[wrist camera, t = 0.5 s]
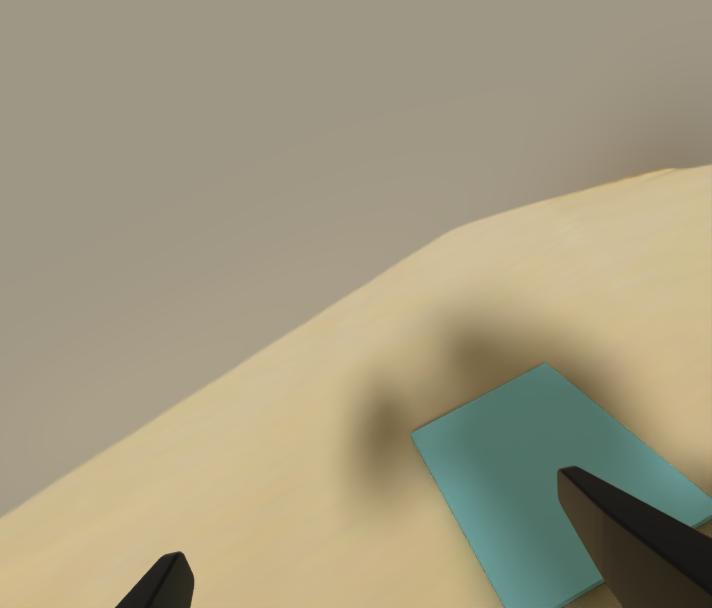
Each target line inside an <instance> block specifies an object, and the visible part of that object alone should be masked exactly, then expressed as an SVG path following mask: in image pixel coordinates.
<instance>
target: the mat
mask: <svg viewBox="0 0 712 608" xmlns="http://www.w3.org/2000/svg"><path fill="white" fill-rule="evenodd" d="M410 435H411V437H412V440H413V442H414V443H415V445H416V447H417V449H418V451H419V453H420V454H421V456H422V458H423V460H424V462H425V463H426V465H427V467H428V469H429V471H430V473H431V474H432V476H433V478H434V480H435V482H436V484H437V485H438V487H439V489H440V491H441V493H442V495H443V496H444V498H445V500H446V502H447V504H448V506H449V507H450V509H451V511H452V513H453V515H454V517H455V518H456V520H457V522H458V524H459V526H460V528H461V529H462V531H463V533H464V535H465V537H466V538H467V540H468V542H469V544H470V546H471V548H472V549H473V551H474V553H475V555H476V557H477V559H478V560H479V562H480V564H481V566H482V568H483V570H484V571H485V573H486V575H487V577H488V579H489V581H490V582H491V584H492V586H493V588H494V590H495V592H496V593H497V595H498V597H499V599H500V601H501V602H502V604H503V606H504V608H561V607H563V606H565V605H567V604H568V603H570V602H572V601H573V600H575V599H577V598H578V597H580V596H582V595H584V594H585V593H587V592H589V591H590V590H592V589H594V588H595V587H597V586H599V585H601V584H602V583H604V582H605V581H604V579H603V578H602V576H601V574H600V573H599V571H598V569H597V568H596V566H595V564H594V563H593V561H592V559H591V557H590V556H589V554H588V552H587V550H586V549H585V547H584V545H583V543H582V542H581V540H580V538H579V536H578V535H577V533H576V531H575V529H574V528H573V526H572V524H571V522H570V521H569V519H568V517H567V515H566V514H565V512H564V510H563V508H562V507H561V505H560V502H559V499H558V494H557V471H558V469H560V468H563V467H568V466H573V465H574V466H578V467H580V468H582V469H584V470H586V471H587V472H589V473H591V474H593V475H595V476H597V477H599V478H601V479H602V480H604V481H606V482H608V483H610V484H612V485H614V486H616V487H617V488H619V489H621V490H623V491H625V492H627V493H629V494H631V495H632V496H634V497H636V498H638V499H640V500H642V501H644V502H645V503H647V504H649V505H651V506H653V507H655V508H657V509H659V510H660V511H662V512H664V513H666V514H668V515H670V516H672V517H674V518H675V519H677V520H679V521H681V522H683V523H685V524H687V525H689V526H690V527H692V528H694V529H696V528H698V527H699V526H701V525H703V524H704V523H706V522H708V521H710V520H711V519H712V498H710V497H709V496H708V495H707V494H706V493H704V492H703V491H702V490H701V489H700V488H698V487H697V486H696V485H695V484H693V483H692V482H691V481H690V480H689V479H687V478H686V477H685V476H684V475H682V474H681V473H680V472H679V471H678V470H676V469H675V468H674V467H673V466H672V465H670V464H669V463H668V462H667V461H665V460H664V459H663V458H662V457H661V456H659V455H658V454H657V453H656V452H654V451H653V450H652V449H651V448H650V447H648V446H647V445H646V444H645V443H644V442H642V441H641V440H640V439H639V438H637V437H636V436H635V435H634V434H633V433H631V432H630V431H629V430H628V429H626V428H625V427H624V426H623V425H622V424H620V423H619V422H618V421H617V420H616V419H614V418H613V417H612V416H611V415H609V414H608V413H607V412H606V411H605V410H603V409H602V408H601V407H600V406H599V405H597V404H596V403H595V402H594V401H592V400H591V399H590V398H589V397H588V396H586V395H585V394H584V393H583V392H581V391H580V390H579V389H578V388H577V387H575V386H574V385H573V384H572V383H571V382H569V381H568V380H567V379H566V378H564V377H563V376H562V375H561V374H560V373H558V372H557V371H556V370H555V369H553V368H552V367H551V366H550V365H549V364H547V363H546V362H545V363H544V364H542V365H540V366H538V367H536V368H534V369H532V370H530V371H528V372H526V373H525V374H523V375H521V376H519V377H517V378H515V379H513V380H511V381H509V382H507V383H506V384H504V385H502V386H500V387H498V388H496V389H494V390H492V391H490V392H488V393H487V394H485V395H483V396H481V397H479V398H477V399H475V400H473V401H471V402H469V403H467V404H466V405H464V406H462V407H460V408H458V409H456V410H454V411H452V412H450V413H448V414H447V415H445V416H443V417H441V418H439V419H437V420H435V421H433V422H431V423H429V424H428V425H426V426H424V427H422V428H420V429H418V430H416V431H414V432H412V433H410Z"/></svg>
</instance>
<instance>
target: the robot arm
mask: <svg viewBox="0 0 712 608" xmlns="http://www.w3.org/2000/svg"><path fill="white" fill-rule="evenodd" d="M557 494H558V499H559V502H560V505H561V507H562V508H563V510H564V512H565V514H566V515H567V517H568V519H569V521H570V522H571V524H572V526H573V528H574V529H575V531H576V533H577V535H578V536H579V538H580V540H581V542H582V543H583V545H584V547H585V549H586V550H587V552H588V554H589V556H590V557H591V559H592V561H593V563H594V564H595V566H596V568H597V569H598V571H599V573H600V574H601V576H602V578H603V579H604V581H605V582H606V584H607V585H608V587H609V588H610V590H611V591H612V593H613V594H614V595H615V597H616V598H617V600H618V601H619V603H620V604H621V606H622V607H623V608H712V538H711V537H709V536H707V535H705V534H704V533H702V532H700V531H698V530H696V529H694V528H692V527H690V526H689V525H687V524H685V523H683V522H681V521H679V520H677V519H675V518H674V517H672V516H670V515H668V514H666V513H664V512H662V511H660V510H659V509H657V508H655V507H653V506H651V505H649V504H647V503H645V502H644V501H642V500H640V499H638V498H636V497H634V496H632V495H631V494H629V493H627V492H625V491H623V490H621V489H619V488H617V487H616V486H614V485H612V484H610V483H608V482H606V481H604V480H602V479H601V478H599V477H597V476H595V475H593V474H591V473H589V472H587V471H586V470H584V469H582V468H580V467H578V466H574V465H573V466H568V467H563V468H560V469H558V471H557ZM193 590H194V575H193V573H192V571H191V568H190V566H189V564H188V562H187V560H186V557H185V555H184V554H183V553H182V552H181V551H178V552H173V553H169V554H165V555H163V556H162V557H161V558H160V559H159V560H158V561H157V562H156V563H155V564H154V565H153V566H152V567H151V568H150V570H149V571H148V572H147V573H146V574H145V575H144V576H143V577H142V578H141V579H140V581H139V582H138V583H137V584H136V585H135V586H134V587H133V588H132V589H131V591H130V592H129V593H128V594H127V595H126V596H125V597H124V598H123V599H122V600H121V602H120V603H119V604H118V605H117V606H116V607H115V608H190V607H191V601H192V596H193Z"/></svg>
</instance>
